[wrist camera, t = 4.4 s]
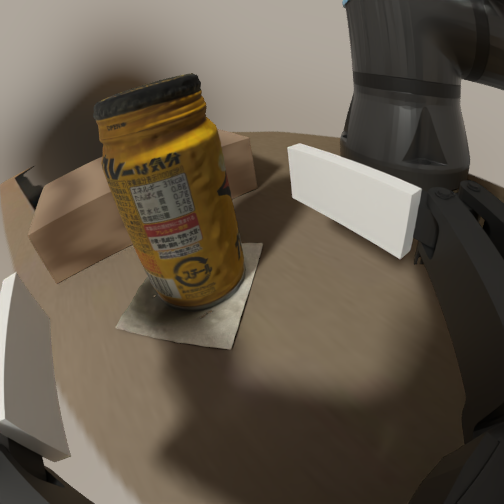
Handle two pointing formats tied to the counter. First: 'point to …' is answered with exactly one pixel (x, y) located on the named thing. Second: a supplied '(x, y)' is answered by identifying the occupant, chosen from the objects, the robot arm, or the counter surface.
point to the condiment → (176, 213)
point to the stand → (106, 211)
